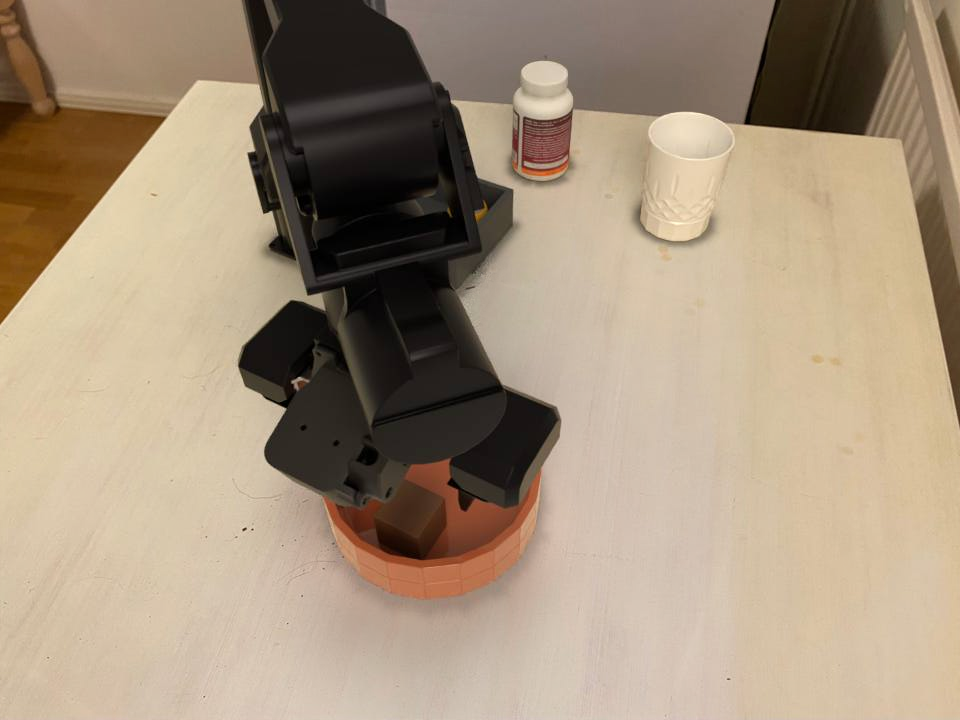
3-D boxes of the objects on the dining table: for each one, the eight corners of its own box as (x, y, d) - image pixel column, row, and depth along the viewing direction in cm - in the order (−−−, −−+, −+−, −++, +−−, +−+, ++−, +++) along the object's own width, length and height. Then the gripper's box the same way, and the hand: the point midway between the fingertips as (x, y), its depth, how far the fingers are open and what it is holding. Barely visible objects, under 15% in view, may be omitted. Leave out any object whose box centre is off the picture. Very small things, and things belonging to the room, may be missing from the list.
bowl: (289, 541, 58) (276, 504, 55) (403, 397, 67) (398, 356, 63) (474, 641, 53) (473, 608, 50) (571, 471, 62) (576, 432, 58)
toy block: (378, 542, 58) (372, 516, 55) (405, 503, 60) (401, 476, 57) (421, 564, 57) (417, 538, 54) (447, 524, 59) (445, 497, 56)
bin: (349, 252, 79) (342, 215, 76) (410, 190, 86) (407, 154, 82) (457, 293, 75) (455, 256, 72) (512, 225, 82) (513, 189, 78)
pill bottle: (580, 166, 88) (589, 72, 80) (541, 190, 86) (547, 95, 77) (538, 143, 91) (543, 50, 83) (499, 166, 88) (500, 72, 80)
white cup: (712, 250, 79) (735, 164, 71) (630, 240, 80) (645, 154, 73) (713, 201, 84) (735, 115, 77) (636, 192, 85) (650, 107, 78)
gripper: (131, 343, 40) (213, 511, 51) (463, 501, 34) (470, 650, 45) (275, 216, 46) (318, 391, 58) (575, 329, 40) (555, 499, 52)
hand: (406, 476), depth 53 cm, fingers open, 9 cm apart
